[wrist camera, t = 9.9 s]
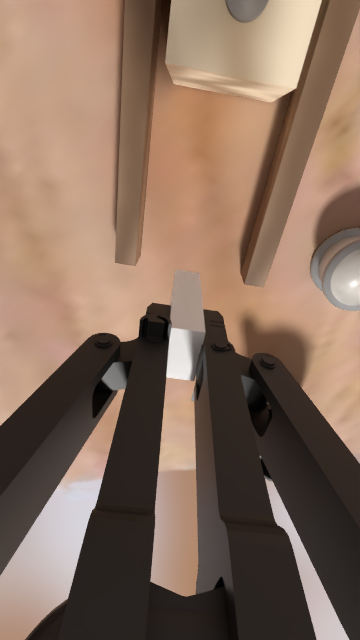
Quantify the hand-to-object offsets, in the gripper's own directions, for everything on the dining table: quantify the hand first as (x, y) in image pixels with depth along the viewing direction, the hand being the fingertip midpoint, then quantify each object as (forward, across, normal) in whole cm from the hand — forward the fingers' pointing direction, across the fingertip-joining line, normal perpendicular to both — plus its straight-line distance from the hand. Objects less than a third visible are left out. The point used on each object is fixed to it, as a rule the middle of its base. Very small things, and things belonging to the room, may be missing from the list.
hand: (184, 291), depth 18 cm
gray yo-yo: (+13, +17, 0) cm, 21 cm away
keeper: (+13, +1, +15) cm, 20 cm away
